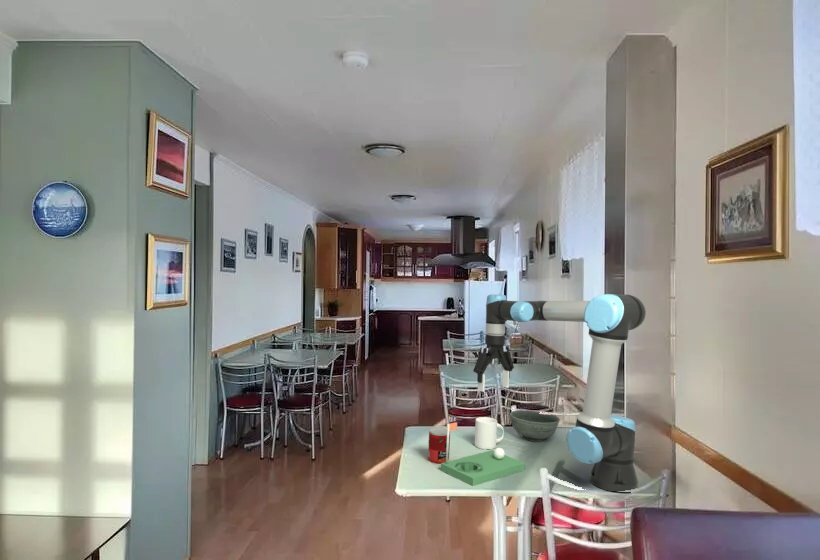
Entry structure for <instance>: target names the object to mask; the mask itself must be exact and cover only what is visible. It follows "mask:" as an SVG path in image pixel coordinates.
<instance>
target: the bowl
mask: <svg viewBox="0 0 820 560" xmlns="http://www.w3.org/2000/svg"><path fill="white" fill-rule="evenodd" d="M540 412H542V413H543V412H544V411H538V410H537V411H535V410H526V409H525V410H524V409H522V410H519V409H518V410H513V411H511V412H510V413H509V416H510V418H511V424H512V426H513V428H514V431H516V432H517V434H519V435H521V437H522V438H523V439H524V440H527V441H531V442H543V441H545V439H546V438H549V437H551V436H552V435H554V433H555V432H556V430H557V428H558V426H559V422H560V420H561V419H560V418H559V417H558V416H556V415H554V414H551V413H550V414H551V415H540V414H539V413H540Z"/></svg>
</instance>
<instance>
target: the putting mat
mask: <svg viewBox="0 0 820 560" xmlns="http://www.w3.org/2000/svg"><path fill="white" fill-rule="evenodd" d="M446 429H447V448H446V462H444V463H441V464H440V471H441V472H442V473H445V474H448V475H449V476H450V477H451V476H452V477H453V478H455V479H458V480H460V481H461V482H464V483H466V484H468V485H470V486H472V487H475V486H478V485H480V484H481V485H482V484H483V483H487V482H490V481H493V480H498V479H501V478H503V476H504V477H507V476H510V475H514V474H516V473H520V472H523V470H524V471H526V463H525V462H523V461H521V460H519V459H516V458H513V457H510V456H508V455H505V456H504V457H503V458H502V459H497V458H495V456H494V449H490V450H487V451H484V452H480V453H477V454H476V453H475V454H472V455H468V456H464V457H460V458H456V459H452V460H449V461H448V448H449V431H450V432H452V431H453V432H454V431H456V430H458V422H452V423H451V422H450V423H447V426H446ZM449 449H450V448H449ZM513 473H514V474H513ZM500 477H501V478H500Z"/></svg>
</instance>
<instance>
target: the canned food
mask: <svg viewBox="0 0 820 560" xmlns="http://www.w3.org/2000/svg"><path fill="white" fill-rule="evenodd" d="M450 438H451V431H449V448H448V461H450V445H451V444H450V443H451V439H450ZM446 448H447V428H444V427H431V428H430V429H429V431H428V451H427V452H428V453H427V455H428V456H427V458H428V461H429V462H430V463H432V464H437V465H441V463H444V462H446Z"/></svg>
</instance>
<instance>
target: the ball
mask: <svg viewBox="0 0 820 560" xmlns="http://www.w3.org/2000/svg"><path fill="white" fill-rule="evenodd" d="M493 451H494V456H495V458H497V459H502V458H503V457H504V456H505V454H506V452H505V450H504V448H502V447H495V448H494V449H493Z"/></svg>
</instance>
